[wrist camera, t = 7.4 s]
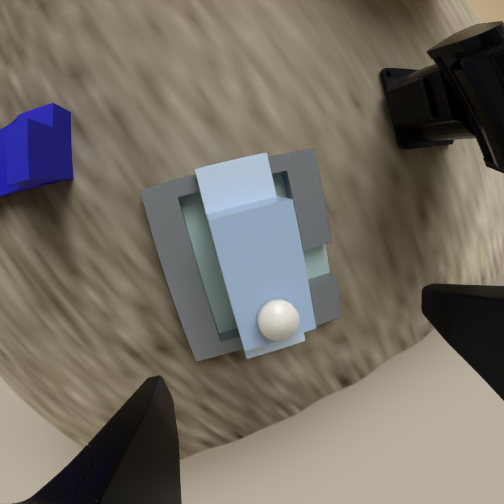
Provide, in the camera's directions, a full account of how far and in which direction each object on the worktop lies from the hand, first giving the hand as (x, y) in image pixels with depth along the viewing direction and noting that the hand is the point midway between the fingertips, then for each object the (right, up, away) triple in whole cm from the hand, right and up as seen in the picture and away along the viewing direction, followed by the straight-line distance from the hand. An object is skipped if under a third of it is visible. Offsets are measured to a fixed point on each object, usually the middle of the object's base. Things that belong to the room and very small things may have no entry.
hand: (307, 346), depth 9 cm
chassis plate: (-2, +3, +11) cm, 11 cm away
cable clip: (-19, +9, +6) cm, 22 cm away
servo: (-2, +3, +11) cm, 11 cm away
